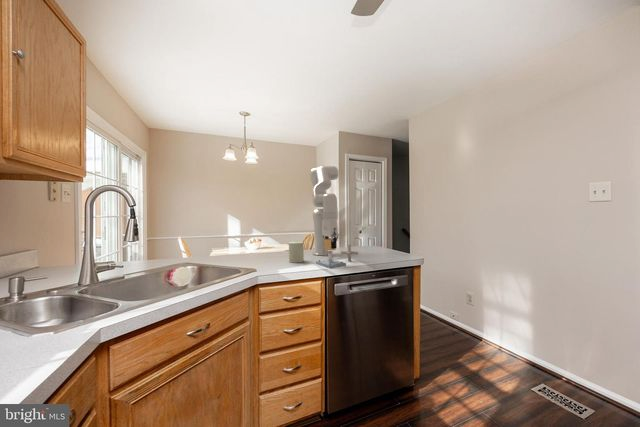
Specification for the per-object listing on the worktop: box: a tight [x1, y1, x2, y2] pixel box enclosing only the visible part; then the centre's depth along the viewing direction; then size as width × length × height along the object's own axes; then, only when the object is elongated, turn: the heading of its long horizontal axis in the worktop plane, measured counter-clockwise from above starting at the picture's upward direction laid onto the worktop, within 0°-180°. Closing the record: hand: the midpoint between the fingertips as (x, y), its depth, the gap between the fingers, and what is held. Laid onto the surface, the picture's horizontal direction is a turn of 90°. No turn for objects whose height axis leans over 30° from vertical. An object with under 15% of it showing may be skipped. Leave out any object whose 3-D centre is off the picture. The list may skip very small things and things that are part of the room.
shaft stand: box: [315, 250, 347, 269], centre depth 153 cm, size 14×11×8 cm
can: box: [288, 240, 305, 263], centre depth 166 cm, size 9×9×12 cm
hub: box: [324, 237, 337, 251], centre depth 153 cm, size 6×6×6 cm
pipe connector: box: [340, 244, 359, 262], centre depth 163 cm, size 10×10×10 cm
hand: (330, 247), depth 153 cm, fingers closed on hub, 6 cm apart
